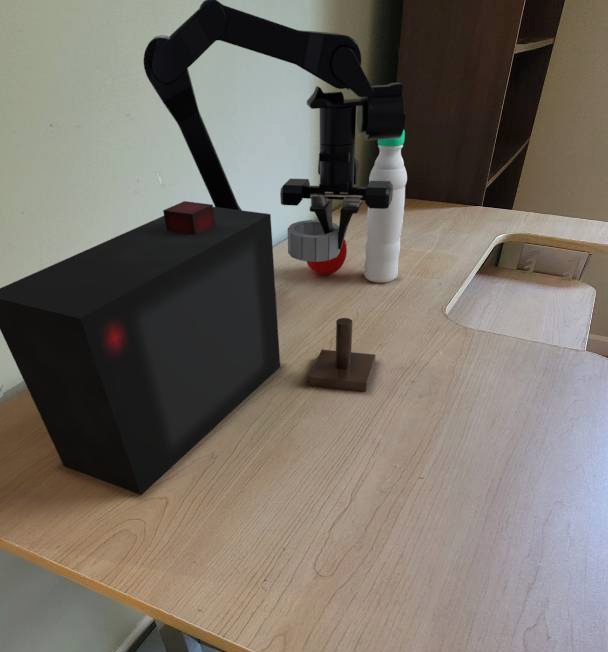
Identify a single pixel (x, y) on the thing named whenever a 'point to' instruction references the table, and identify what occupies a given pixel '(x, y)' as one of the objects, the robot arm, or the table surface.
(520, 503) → the table surface
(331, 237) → the tape
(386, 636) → the table surface
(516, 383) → the table surface
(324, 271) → the ornament
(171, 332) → the speaker
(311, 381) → the stand
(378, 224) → the water bottle
